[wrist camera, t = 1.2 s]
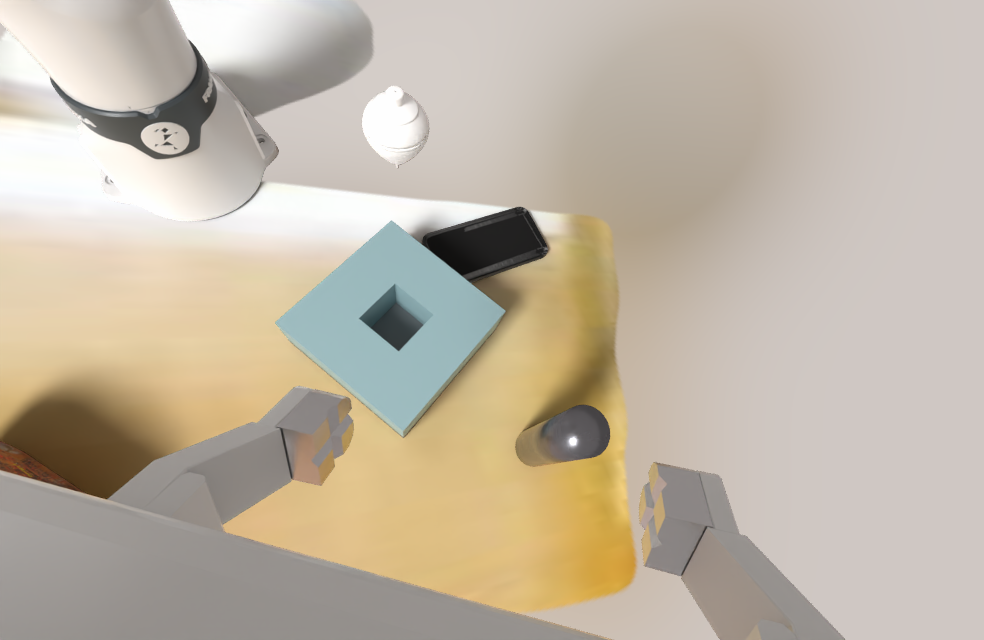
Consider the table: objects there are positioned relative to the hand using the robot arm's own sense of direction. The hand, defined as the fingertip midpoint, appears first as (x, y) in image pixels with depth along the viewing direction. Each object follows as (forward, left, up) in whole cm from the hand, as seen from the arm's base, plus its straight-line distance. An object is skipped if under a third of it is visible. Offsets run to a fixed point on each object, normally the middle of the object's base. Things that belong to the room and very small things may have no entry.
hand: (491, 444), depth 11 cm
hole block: (-15, +4, -35) cm, 39 cm away
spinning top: (-36, +14, -36) cm, 53 cm away
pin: (+3, +11, -35) cm, 37 cm away
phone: (-21, +19, -36) cm, 46 cm away
